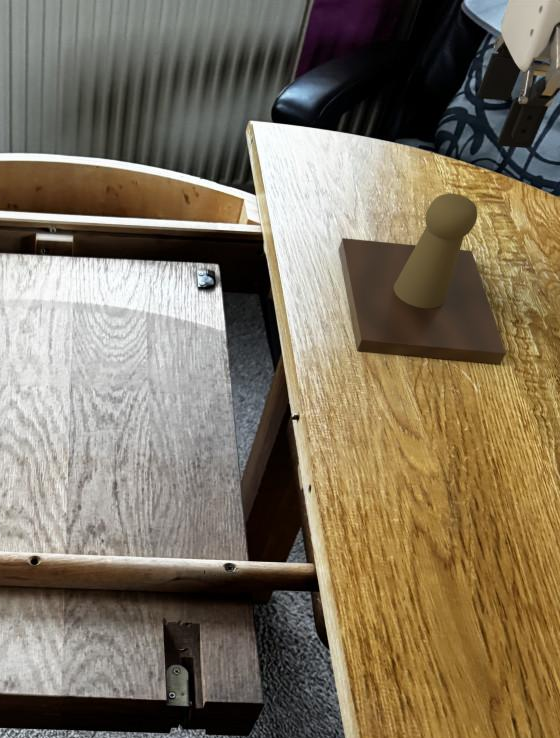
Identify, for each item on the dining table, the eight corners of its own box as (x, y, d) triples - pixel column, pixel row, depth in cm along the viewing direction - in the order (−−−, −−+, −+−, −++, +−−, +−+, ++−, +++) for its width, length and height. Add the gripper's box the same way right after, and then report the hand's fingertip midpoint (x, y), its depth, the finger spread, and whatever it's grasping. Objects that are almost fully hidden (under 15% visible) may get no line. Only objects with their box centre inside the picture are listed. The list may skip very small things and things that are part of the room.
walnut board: (467, 261, 114) (472, 250, 113) (500, 364, 103) (506, 353, 101) (338, 249, 114) (342, 237, 113) (357, 351, 102) (361, 339, 101)
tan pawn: (389, 299, 106) (425, 206, 97) (398, 271, 109) (433, 180, 100) (441, 314, 105) (482, 222, 96) (449, 285, 108) (489, 194, 99)
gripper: (664, -50, 73) (562, 168, 86) (603, -122, 83) (520, 84, 97) (568, -57, 72) (481, 162, 86) (519, -128, 83) (449, 79, 97)
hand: (502, 121), depth 91 cm, fingers open, 9 cm apart
